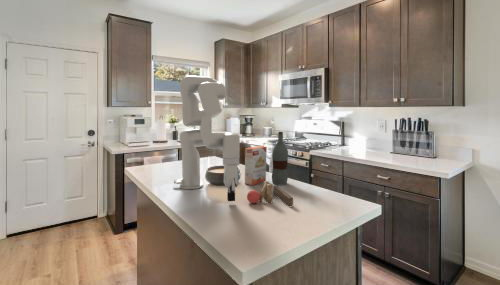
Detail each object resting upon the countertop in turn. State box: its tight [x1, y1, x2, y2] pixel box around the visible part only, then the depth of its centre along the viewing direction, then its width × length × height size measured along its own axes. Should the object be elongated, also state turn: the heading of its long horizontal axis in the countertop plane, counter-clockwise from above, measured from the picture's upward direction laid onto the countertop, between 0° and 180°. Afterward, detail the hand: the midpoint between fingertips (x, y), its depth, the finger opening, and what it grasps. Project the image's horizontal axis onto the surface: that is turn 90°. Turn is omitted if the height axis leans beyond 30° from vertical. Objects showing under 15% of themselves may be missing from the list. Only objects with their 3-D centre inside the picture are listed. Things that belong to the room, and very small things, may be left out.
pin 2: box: [266, 183, 273, 204], centre depth 131 cm, size 2×2×8 cm
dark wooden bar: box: [273, 185, 294, 207], centre depth 135 cm, size 2×20×4 cm, turn 14°
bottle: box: [271, 131, 289, 186], centre depth 163 cm, size 9×9×30 cm
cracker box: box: [244, 145, 268, 186], centre depth 165 cm, size 14×6×21 cm, turn 143°
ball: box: [246, 189, 260, 204], centre depth 130 cm, size 6×6×6 cm
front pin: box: [258, 183, 267, 202], centre depth 133 cm, size 2×2×8 cm
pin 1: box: [263, 180, 270, 201], centre depth 136 cm, size 2×2×8 cm
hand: (231, 200), depth 129 cm, fingers closed
